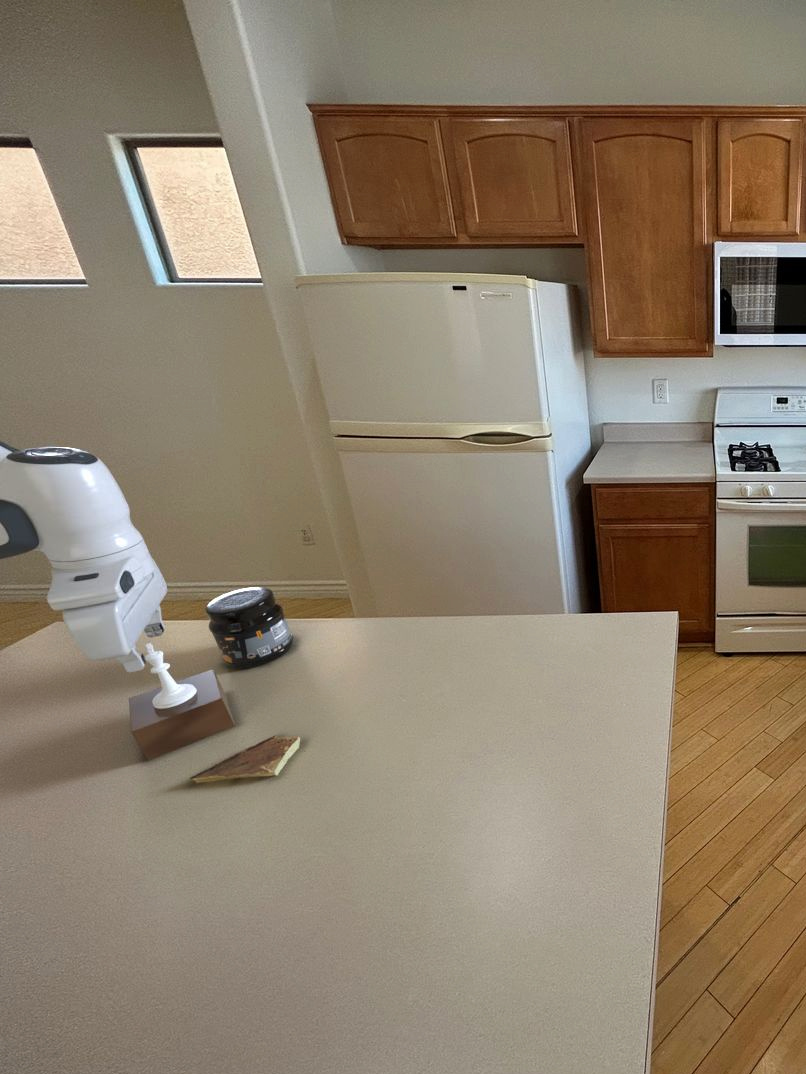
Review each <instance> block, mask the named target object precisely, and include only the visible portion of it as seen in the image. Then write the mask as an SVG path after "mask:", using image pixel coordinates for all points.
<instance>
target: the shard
mask: <svg viewBox="0 0 806 1074" xmlns="http://www.w3.org/2000/svg"><path fill="white" fill-rule="evenodd" d="M300 743H301V738H300V737H299V736H288V737H287V736H286V737H285V736H283V737H282V736H277V735H274V736H271V737H269V738H266V739H264V740H262V741H260V742H258V743H257V744H255V745H251V746H250V747H248V748H246V749H243V750H242V751H240V752H237V753H235V754H234V755H232V756H229V757H227V758H225V759H224V760H222V761H220V762H218V763H217V764H214V765H213V766H211V767H210V768H208V769H205V770H203V771H201V772H199V773H197V774H195V775H193V776H190V777H189V780H192V781H194V782H195V783H196V784H201V783H210V782H214V781H221V780H230V779H237V778H253V777H256V778H257V777H271V776H276V777H277V776H278V775H279V774H280V772H281V770H282V769H283V768H284V766H285V765H286V763H287V762H288V761H289V759H290V758H291V757H292V756H293V755H294V754H295V752H296V751H297V750H299V748H300V745H301V744H300Z"/></svg>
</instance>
